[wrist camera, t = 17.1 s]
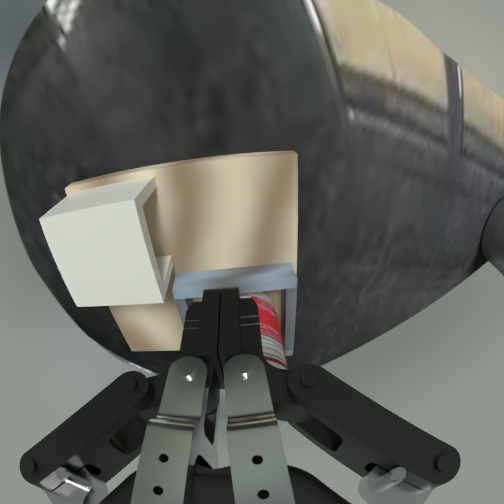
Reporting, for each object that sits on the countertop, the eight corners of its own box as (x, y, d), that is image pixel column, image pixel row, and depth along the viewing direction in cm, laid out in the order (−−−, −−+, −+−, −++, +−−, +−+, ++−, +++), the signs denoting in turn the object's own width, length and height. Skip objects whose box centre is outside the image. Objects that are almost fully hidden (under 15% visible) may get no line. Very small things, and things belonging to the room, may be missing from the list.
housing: (154, 175, 17) (134, 199, 13) (173, 263, 21) (163, 302, 17) (70, 193, 17) (38, 219, 13) (97, 271, 20) (77, 306, 16)
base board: (293, 150, 18) (307, 162, 15) (290, 331, 28) (297, 359, 24) (71, 183, 17) (47, 200, 14) (134, 342, 27) (127, 369, 24)
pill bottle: (244, 342, 26) (254, 447, 17) (191, 315, 24) (182, 431, 14) (289, 305, 24) (319, 418, 14) (234, 270, 21) (244, 399, 12)
